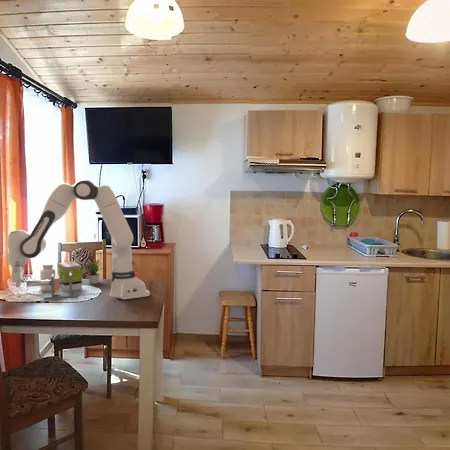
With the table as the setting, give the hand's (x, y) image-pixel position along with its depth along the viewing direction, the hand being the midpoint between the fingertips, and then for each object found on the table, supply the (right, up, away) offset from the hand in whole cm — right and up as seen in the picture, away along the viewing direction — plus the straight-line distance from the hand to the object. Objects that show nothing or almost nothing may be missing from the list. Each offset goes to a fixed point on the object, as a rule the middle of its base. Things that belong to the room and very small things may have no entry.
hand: (18, 286), depth 214 cm
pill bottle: (+6, -6, +22) cm, 24 cm away
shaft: (+12, 0, +5) cm, 13 cm away
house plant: (+28, -5, +39) cm, 48 cm away
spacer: (+18, -3, +7) cm, 19 cm away
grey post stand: (+20, -7, +8) cm, 23 cm away
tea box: (+17, -5, +27) cm, 32 cm away
